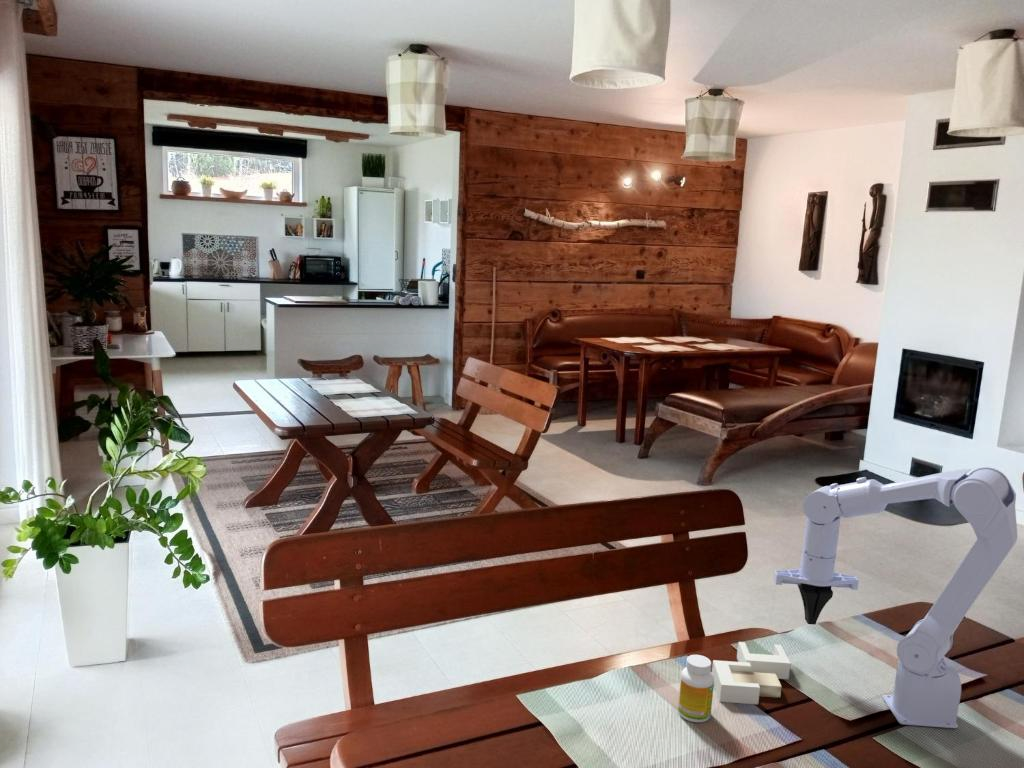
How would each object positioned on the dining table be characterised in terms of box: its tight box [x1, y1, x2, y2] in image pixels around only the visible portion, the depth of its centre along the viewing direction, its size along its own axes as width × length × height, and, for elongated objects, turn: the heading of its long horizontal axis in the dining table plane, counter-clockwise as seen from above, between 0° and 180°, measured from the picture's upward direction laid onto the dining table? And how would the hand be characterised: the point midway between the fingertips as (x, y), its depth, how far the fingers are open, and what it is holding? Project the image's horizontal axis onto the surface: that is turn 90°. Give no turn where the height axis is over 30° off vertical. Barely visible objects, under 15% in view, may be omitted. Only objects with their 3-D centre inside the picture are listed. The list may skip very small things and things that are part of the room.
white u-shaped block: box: [736, 641, 791, 680], centre depth 149 cm, size 6×8×3 cm
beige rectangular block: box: [731, 671, 782, 699], centre depth 143 cm, size 8×4×2 cm, turn 87°
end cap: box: [711, 659, 760, 705], centre depth 142 cm, size 6×8×3 cm
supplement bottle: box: [677, 654, 715, 723], centre depth 134 cm, size 5×5×10 cm
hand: (810, 621), depth 148 cm, fingers closed
